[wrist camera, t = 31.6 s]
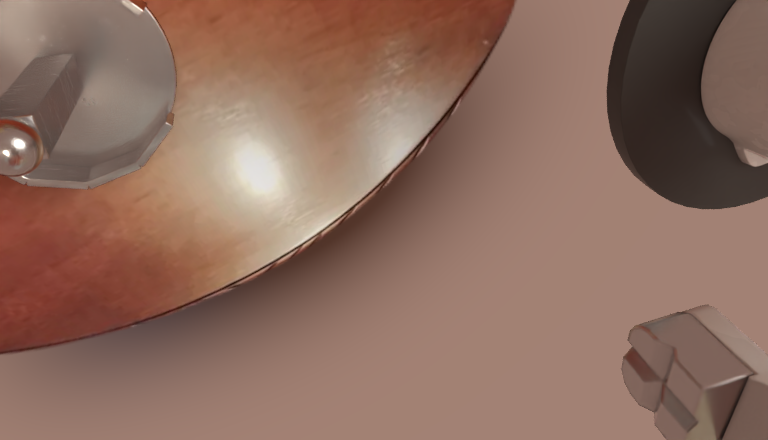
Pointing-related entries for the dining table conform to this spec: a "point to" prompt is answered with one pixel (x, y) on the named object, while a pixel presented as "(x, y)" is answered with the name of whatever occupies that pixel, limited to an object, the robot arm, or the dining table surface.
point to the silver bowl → (82, 90)
